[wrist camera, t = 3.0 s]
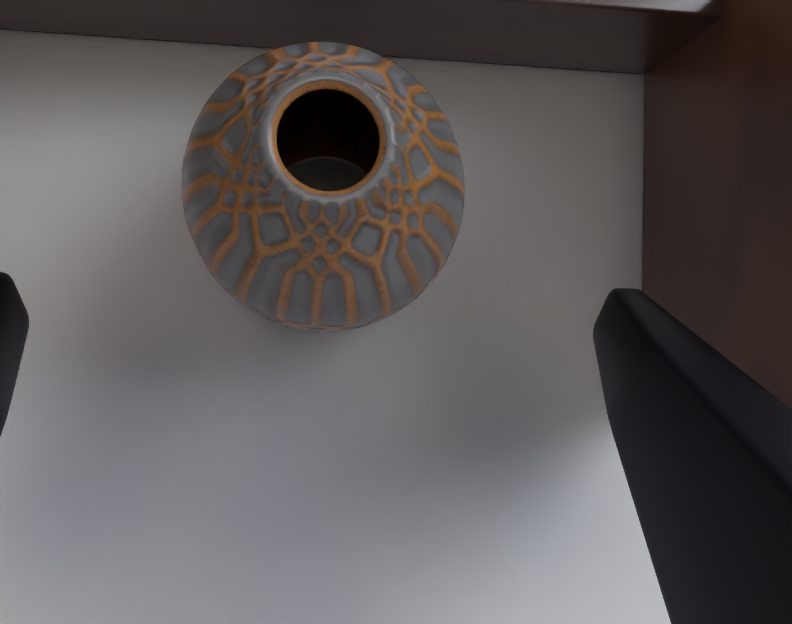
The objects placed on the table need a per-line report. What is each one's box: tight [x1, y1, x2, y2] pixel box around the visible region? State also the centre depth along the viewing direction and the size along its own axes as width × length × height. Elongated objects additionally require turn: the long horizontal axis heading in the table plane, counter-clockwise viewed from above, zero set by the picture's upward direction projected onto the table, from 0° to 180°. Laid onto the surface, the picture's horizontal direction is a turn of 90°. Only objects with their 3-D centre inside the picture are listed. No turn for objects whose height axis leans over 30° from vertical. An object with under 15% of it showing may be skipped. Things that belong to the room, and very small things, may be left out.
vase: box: [182, 42, 464, 332], centre depth 15 cm, size 7×7×9 cm
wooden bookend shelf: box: [0, 0, 792, 409], centre depth 14 cm, size 12×23×11 cm, turn 89°
